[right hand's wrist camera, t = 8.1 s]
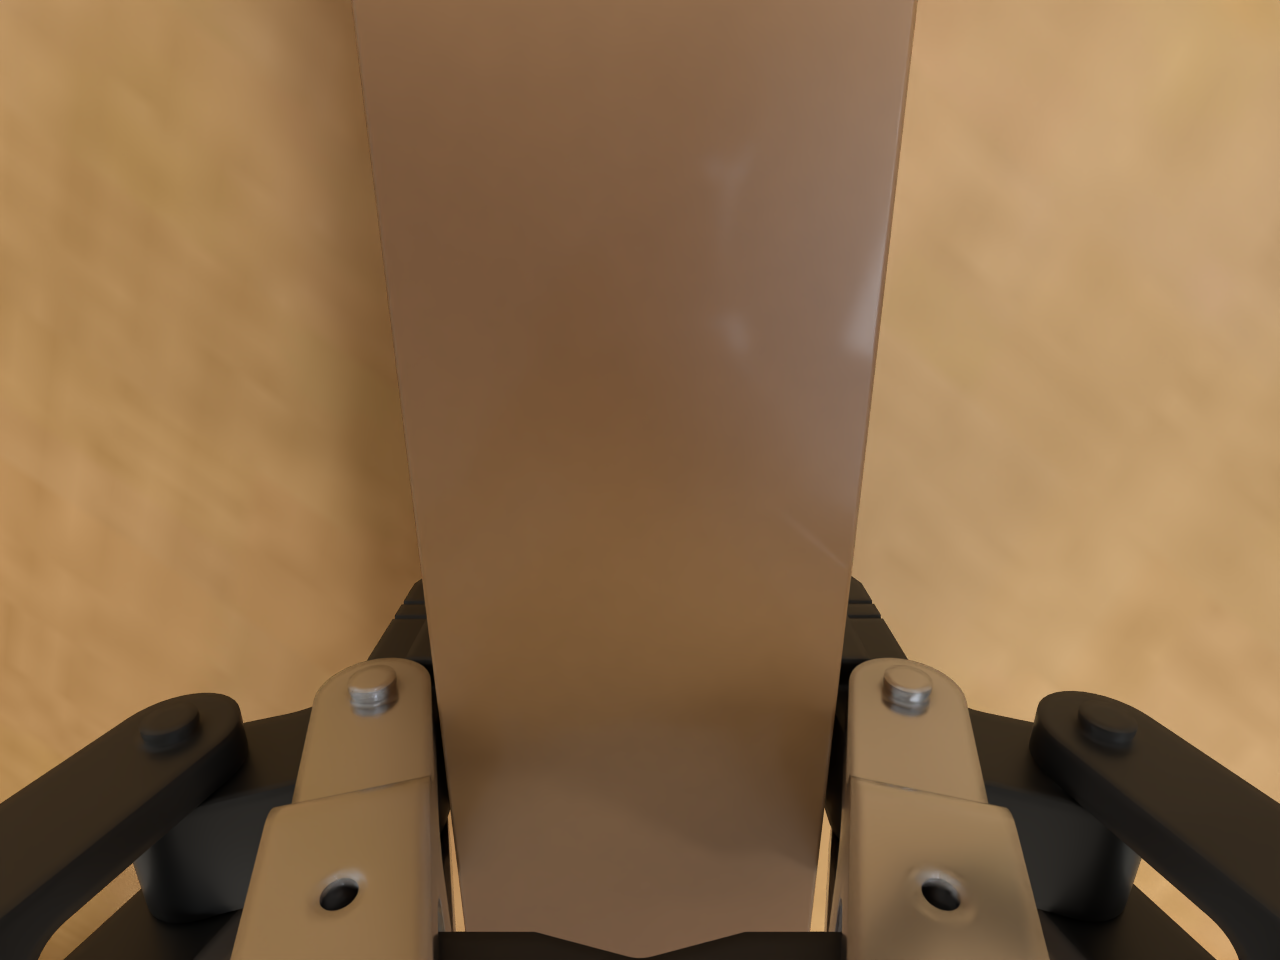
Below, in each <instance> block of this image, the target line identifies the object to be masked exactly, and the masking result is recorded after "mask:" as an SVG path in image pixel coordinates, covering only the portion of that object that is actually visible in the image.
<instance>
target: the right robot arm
mask: <svg viewBox="0 0 1280 960" xmlns="http://www.w3.org/2000/svg"><path fill="white" fill-rule="evenodd" d="M824 807H825V810H826V814H827V817H828V820H829V823H830V825H831V832H830V841H829V855H828V873H827V892H826V910H825V929H824V932H742V933H739V934H735V935H731V936H727V937H723V938H720V939H716V940H712V941H708V942H705V943H701V944H697V945H693V946H690V947H686V948H682V949H678V950H674V951H671V952H667V953H663V954H659V955H656V956H652V957H646V958H634V957H628V956H624V955H621V954H617V953H613V952H609V951H606V950H602V949H598V948H594V947H590V946H587V945H583V944H579V943H575V942H572V941H568V940H564V939H560V938H557V937H553V936H549V935H545V934H541V933H538V932H456V929H455V910H454V891H453V873H452V854H451V840H450V832H449V824H448V814H449V811H450V802H449V794H448V786H447V777H446V769H445V761H444V753H443V745H442V737H441V729H440V720H439V712H438V704H437V696H436V688H435V680H434V671H433V663H432V655H431V647H430V639H429V631H428V622H427V614H426V606H425V598H424V590H423V582H422V579H421V580H419V581H418V582H416V583H415V584H414V586H413V587H412V589H411V590H410V592H409V594H408V595H407V597H406V599H405V600H404V605H401V607H400V608H399V610H398V611H397V613H396V615H395V619H393V620H392V621H391V623H390V624H389V626H388V628H387V629H386V631H385V632H384V634H383V636H382V637H381V639H380V641H379V642H378V644H377V645H376V647H375V649H374V650H373V652H372V653H371V655H370V657H369V658H368V660H367V661H365V662H362V663H358V664H356V665H353V666H350V667H348V668H346V669H344V670H342V671H340V672H338V673H337V674H335V675H334V676H332V677H331V678H330V679H329V680H327V681H326V682H325V683H324V684H323V685H322V686H321V687H320V689H319V690H318V692H317V693H316V696H315V698H314V702H313V707H310V708H307V709H304V710H301V711H298V712H294V713H290V714H285V715H280V716H275V717H271V718H266V719H261V720H256V721H251V722H246V723H243V720H242V716H241V712H240V708H239V705H238V704H237V703H236V701H235V700H233V699H232V698H230V697H228V696H225V695H222V694H216V693H197V694H189V695H183V696H179V697H175V698H171V699H168V700H165V701H162V702H160V703H157V704H155V705H152V706H150V707H148V708H146V709H144V710H142V711H140V712H138V713H136V714H134V715H133V716H131V717H129V718H128V719H126V720H125V721H123V722H122V723H120V724H119V725H117V726H116V727H114V728H113V729H111V730H110V731H108V732H107V733H105V734H104V735H102V736H101V737H99V738H98V739H96V740H95V741H93V742H92V743H90V744H89V745H87V746H86V747H84V748H83V749H81V750H80V751H78V752H77V753H75V754H74V755H72V756H71V757H69V758H68V759H67V760H65V761H64V762H62V763H61V764H59V765H58V766H56V767H55V768H53V769H52V770H50V771H49V772H47V773H46V774H44V775H43V776H41V777H40V778H38V779H37V780H35V781H34V782H32V783H31V784H29V785H28V786H26V787H25V788H23V789H22V790H20V791H19V792H17V793H16V794H14V795H13V796H11V797H10V798H8V799H7V800H5V801H4V802H2V803H1V804H0V960H38V958H39V956H40V954H41V952H42V950H43V948H44V947H45V945H46V943H47V942H48V940H49V939H50V938H51V936H52V935H53V934H54V933H55V932H56V930H57V929H58V928H59V927H60V926H61V925H62V924H63V923H64V922H65V921H66V920H68V919H69V918H70V917H71V916H72V915H73V914H74V913H76V912H77V911H78V910H79V909H80V908H81V907H83V906H84V905H85V904H86V903H87V902H88V901H89V900H91V899H92V898H93V897H94V896H95V895H96V894H97V893H99V892H100V891H101V890H102V889H103V888H104V887H106V886H107V885H108V884H109V883H110V882H111V881H112V880H114V879H115V878H116V877H117V876H118V875H119V874H120V873H122V872H123V871H124V870H125V869H126V868H127V867H129V866H130V865H131V864H132V863H133V865H134V868H135V871H136V874H137V877H138V880H139V883H140V886H141V889H140V890H139V891H138V892H137V893H136V894H135V895H134V896H133V897H132V898H131V899H130V900H128V901H127V902H126V903H125V904H124V905H123V906H122V907H121V908H120V909H119V910H117V911H116V912H115V913H114V914H113V915H112V916H111V917H110V918H109V919H108V920H107V921H105V922H104V923H103V924H102V925H101V926H100V927H99V928H98V929H97V930H96V931H95V932H93V933H92V934H91V935H90V936H89V937H88V938H87V939H86V940H85V941H84V942H82V943H81V944H80V945H79V946H78V947H77V948H76V949H75V950H74V951H73V952H72V953H70V954H69V955H68V956H67V957H66V958H65V959H64V960H1216V959H1215V958H1214V957H1213V956H1212V955H1211V954H1210V953H1208V952H1207V951H1206V950H1205V949H1204V948H1203V947H1202V946H1201V945H1200V944H1199V943H1197V942H1196V941H1195V940H1194V939H1193V938H1192V937H1191V936H1190V935H1189V934H1188V933H1187V932H1185V931H1184V930H1183V929H1182V928H1181V927H1180V926H1179V925H1178V924H1177V923H1176V922H1175V921H1173V920H1172V919H1171V918H1170V917H1169V916H1168V915H1167V914H1166V913H1165V912H1164V911H1162V910H1161V909H1160V908H1159V907H1158V906H1157V905H1156V904H1155V903H1154V902H1153V901H1152V900H1150V899H1149V898H1148V897H1147V896H1146V895H1145V894H1144V893H1143V892H1142V891H1141V890H1140V889H1138V888H1137V887H1136V886H1135V885H1134V884H1133V882H1134V879H1135V876H1136V873H1137V870H1138V867H1139V864H1140V861H1141V858H1142V859H1143V860H1145V861H1146V862H1147V863H1148V864H1149V865H1150V866H1151V867H1153V868H1154V869H1155V870H1156V871H1157V872H1158V873H1159V874H1161V875H1162V876H1163V877H1164V878H1165V879H1166V880H1168V881H1169V882H1170V883H1171V884H1172V885H1173V886H1174V887H1176V888H1177V889H1178V890H1179V891H1180V892H1181V893H1183V894H1184V895H1185V896H1186V897H1187V898H1188V899H1189V900H1191V901H1192V902H1193V903H1194V904H1195V905H1196V906H1197V907H1199V908H1200V909H1201V910H1202V911H1203V912H1204V913H1206V914H1207V915H1208V916H1209V917H1210V918H1211V919H1212V920H1213V921H1214V922H1215V923H1216V924H1217V925H1218V926H1219V927H1220V928H1221V929H1222V930H1223V932H1224V933H1225V934H1226V936H1227V937H1228V939H1229V940H1230V942H1231V943H1232V945H1233V947H1234V949H1235V951H1236V953H1237V955H1238V958H1239V960H1280V804H1279V803H1278V802H1276V801H1275V800H1273V799H1272V798H1270V797H1269V796H1267V795H1266V794H1264V793H1263V792H1261V791H1260V790H1258V789H1257V788H1255V787H1254V786H1252V785H1251V784H1249V783H1248V782H1246V781H1245V780H1243V779H1242V778H1240V777H1239V776H1237V775H1236V774H1234V773H1233V772H1231V771H1230V770H1228V769H1227V768H1225V767H1224V766H1222V765H1221V764H1219V763H1218V762H1216V761H1215V760H1213V759H1212V758H1210V757H1209V756H1207V755H1206V754H1205V753H1203V752H1202V751H1200V750H1199V749H1197V748H1196V747H1194V746H1193V745H1191V744H1190V743H1188V742H1187V741H1185V740H1184V739H1182V738H1181V737H1179V736H1178V735H1176V734H1175V733H1173V732H1172V731H1170V730H1169V729H1167V728H1166V727H1164V726H1163V725H1161V724H1160V723H1158V722H1157V721H1155V720H1154V719H1152V718H1151V717H1149V716H1148V715H1146V714H1144V713H1143V712H1141V711H1139V710H1137V709H1135V708H1133V707H1131V706H1129V705H1127V704H1125V703H1122V702H1120V701H1117V700H1114V699H1111V698H1108V697H1105V696H1101V695H1097V694H1093V693H1087V692H1079V691H1062V692H1056V693H1053V694H1050V695H1047V696H1046V697H1044V698H1043V699H1042V700H1041V701H1040V702H1039V705H1038V707H1037V712H1036V716H1035V720H1034V723H1033V722H1028V721H1023V720H1018V719H1013V718H1008V717H1004V716H999V715H994V714H989V713H984V712H980V711H976V710H973V709H970V708H968V707H967V702H966V698H965V696H964V693H963V692H962V690H961V689H960V687H959V686H958V685H957V684H956V683H955V682H954V681H953V680H951V679H950V678H949V677H948V676H946V675H945V674H943V673H942V672H940V671H938V670H936V669H934V668H932V667H930V666H927V665H924V664H922V663H918V662H915V661H911V660H908V659H907V657H906V656H905V654H904V652H903V651H902V649H901V647H900V646H899V644H898V643H897V641H896V639H895V638H894V636H893V634H892V633H891V631H890V629H889V628H888V626H887V624H886V623H885V621H884V620H883V619H881V615H880V613H879V611H878V610H877V608H876V606H875V605H874V604H872V600H871V598H870V597H869V595H868V593H867V592H866V590H865V588H864V587H863V585H862V583H860V582H859V581H858V580H856V579H855V578H853V577H852V576H851V581H850V590H849V599H848V607H847V616H846V624H845V633H844V642H843V650H842V659H841V668H840V676H839V685H838V694H837V702H836V711H835V720H834V728H833V737H832V745H831V754H830V763H829V771H828V780H827V789H826V797H825V806H824Z"/></svg>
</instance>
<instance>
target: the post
mask: <svg viewBox="0 0 1280 960" xmlns="http://www.w3.org/2000/svg"><path fill="white" fill-rule="evenodd" d="M351 2H352V10H353V19H354V27H355V35H356V43H357V51H358V59H359V68H360V76H361V84H362V92H363V100H364V108H365V117H366V125H367V133H368V141H369V149H370V157H371V165H372V174H373V182H374V190H375V198H376V206H377V214H378V223H379V231H380V239H381V247H382V255H383V263H384V272H385V280H386V288H387V296H388V304H389V312H390V321H391V329H392V337H393V345H394V353H395V361H396V369H397V378H398V386H399V394H400V402H401V410H402V418H403V427H404V435H405V443H406V451H407V459H408V467H409V476H410V484H411V492H412V500H413V508H414V516H415V525H416V533H417V541H418V549H419V557H420V565H421V573H422V582H423V590H424V598H425V606H426V614H427V622H428V631H429V639H430V647H431V655H432V663H433V671H434V680H435V688H436V696H437V704H438V712H439V720H440V729H441V737H442V745H443V753H444V761H445V769H446V777H447V786H448V794H449V802H450V810H451V818H452V826H453V835H454V843H455V851H456V859H457V867H458V875H459V884H460V892H461V900H462V908H463V916H464V924H465V932H538V933H541V934H545V935H549V936H553V937H557V938H560V939H564V940H568V941H572V942H575V943H579V944H583V945H587V946H590V947H594V948H598V949H602V950H606V951H609V952H613V953H617V954H621V955H624V956H628V957H634V958H646V957H652V956H656V955H659V954H663V953H667V952H671V951H674V950H678V949H682V948H686V947H690V946H693V945H697V944H701V943H705V942H708V941H712V940H716V939H720V938H723V937H727V936H731V935H735V934H739V933H742V932H810V927H811V918H812V910H813V901H814V892H815V884H816V875H817V866H818V858H819V849H820V840H821V832H822V823H823V815H824V806H825V797H826V789H827V780H828V771H829V763H830V754H831V745H832V737H833V728H834V720H835V711H836V702H837V694H838V685H839V676H840V668H841V659H842V650H843V642H844V633H845V624H846V616H847V607H848V599H849V590H850V581H851V573H852V564H853V555H854V547H855V538H856V529H857V521H858V512H859V504H860V495H861V486H862V478H863V469H864V460H865V452H866V443H867V434H868V426H869V417H870V409H871V400H872V391H873V383H874V374H875V365H876V357H877V348H878V339H879V331H880V322H881V314H882V305H883V296H884V288H885V279H886V270H887V262H888V253H889V244H890V236H891V227H892V218H893V210H894V201H895V193H896V184H897V175H898V167H899V158H900V149H901V141H902V132H903V123H904V115H905V106H906V98H907V89H908V80H909V72H910V63H911V54H912V46H913V37H914V28H915V20H916V11H917V3H918V0H351Z"/></svg>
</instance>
